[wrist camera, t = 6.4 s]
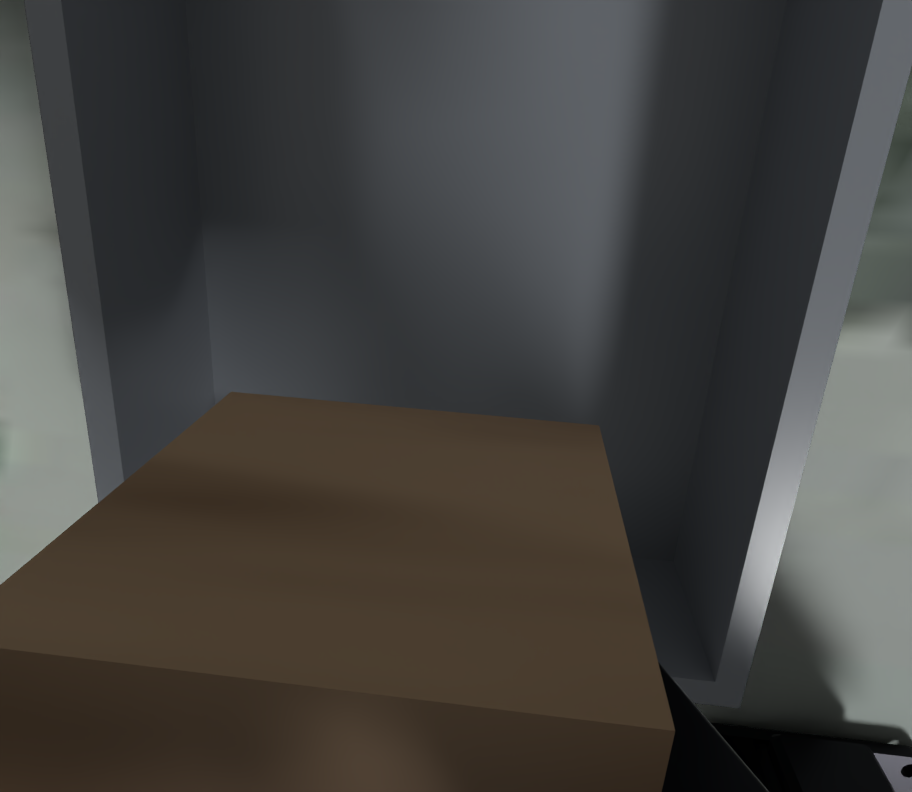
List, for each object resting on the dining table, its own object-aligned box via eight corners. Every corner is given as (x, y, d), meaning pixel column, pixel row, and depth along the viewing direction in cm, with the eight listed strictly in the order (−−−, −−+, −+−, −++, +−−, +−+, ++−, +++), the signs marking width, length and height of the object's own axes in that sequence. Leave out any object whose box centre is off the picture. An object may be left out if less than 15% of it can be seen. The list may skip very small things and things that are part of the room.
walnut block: (556, 716, 11) (579, 1156, 6) (249, 678, 11) (47, 1068, 6) (599, 425, 9) (675, 730, 4) (231, 391, 9) (-66, 639, 5)
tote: (686, 565, 19) (739, 708, 14) (216, 516, 19) (118, 635, 15) (853, -232, 12) (1050, -456, 8) (155, -248, 13) (-45, -456, 9)
